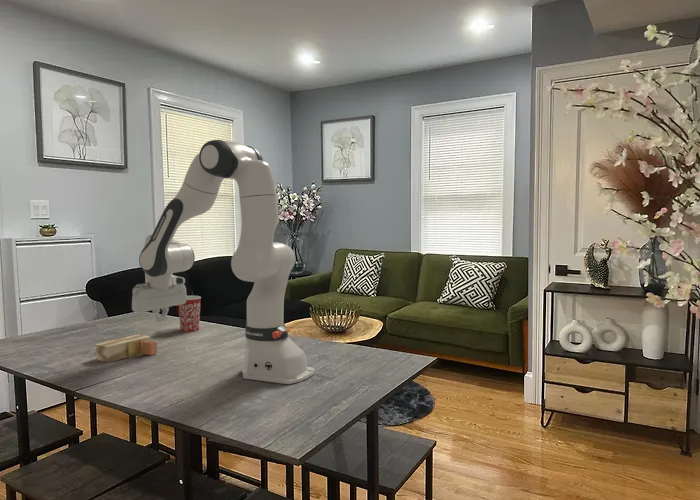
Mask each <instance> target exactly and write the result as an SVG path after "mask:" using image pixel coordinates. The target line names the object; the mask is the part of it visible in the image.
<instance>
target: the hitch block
mask: <svg viewBox="0 0 700 500" xmlns="http://www.w3.org/2000/svg"><path fill="white" fill-rule="evenodd" d="M112 340H113V341H108V340H107V341H108V342H104V341H103V342H104V343H102V342H100V343H96V344H95V355H96V356H95V357H96V358H95V360H96V361H100V362H101V361H102V362H105V363H111V362H113V361H114V362H115V361H117V360H118V361H119V360H122V359H125V358H127V356H126V343H130V342H134V341H138V340H140V341H141V354H143V342H144V341H148V340H150V341H151V336H149V335H145V334H135V335H129V336H125V337H121V338H117V339H112Z"/></svg>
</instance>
